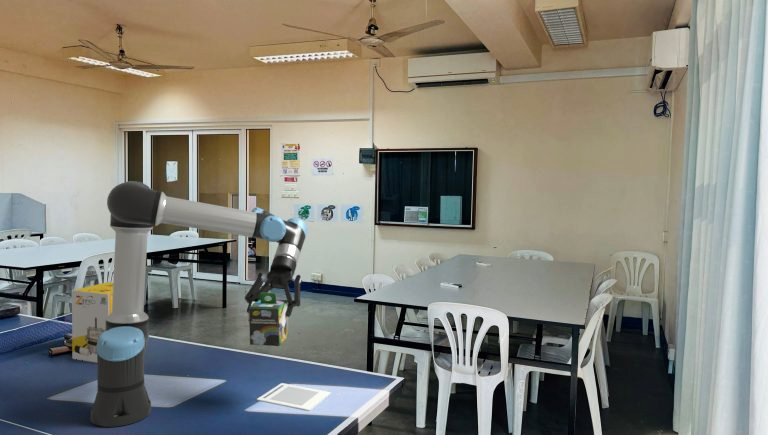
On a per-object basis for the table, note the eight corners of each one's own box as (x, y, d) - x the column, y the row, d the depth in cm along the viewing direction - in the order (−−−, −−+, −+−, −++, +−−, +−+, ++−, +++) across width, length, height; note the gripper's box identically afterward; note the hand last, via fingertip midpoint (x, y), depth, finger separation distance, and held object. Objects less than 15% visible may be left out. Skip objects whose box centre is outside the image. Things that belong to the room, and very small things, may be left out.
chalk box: (288, 337, 162) (288, 289, 161) (279, 346, 153) (279, 295, 152) (259, 335, 163) (259, 288, 162) (248, 345, 154) (248, 294, 153)
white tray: (309, 410, 155) (309, 409, 155) (256, 400, 161) (256, 398, 161) (331, 393, 168) (331, 392, 168) (281, 383, 174) (281, 382, 174)
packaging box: (72, 359, 192) (71, 290, 190) (107, 345, 207) (107, 282, 205) (108, 364, 187) (108, 294, 185) (142, 350, 202) (142, 285, 201)
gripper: (321, 270, 169) (304, 333, 155) (256, 266, 174) (233, 328, 160) (316, 255, 164) (297, 320, 150) (248, 253, 168) (224, 315, 154)
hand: (264, 324), depth 155 cm, fingers closed on chalk box, 9 cm apart
